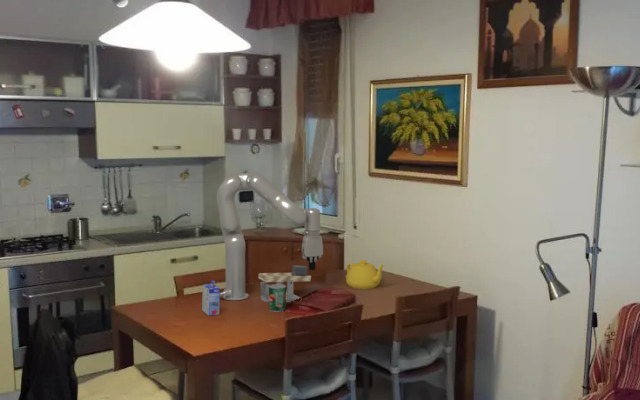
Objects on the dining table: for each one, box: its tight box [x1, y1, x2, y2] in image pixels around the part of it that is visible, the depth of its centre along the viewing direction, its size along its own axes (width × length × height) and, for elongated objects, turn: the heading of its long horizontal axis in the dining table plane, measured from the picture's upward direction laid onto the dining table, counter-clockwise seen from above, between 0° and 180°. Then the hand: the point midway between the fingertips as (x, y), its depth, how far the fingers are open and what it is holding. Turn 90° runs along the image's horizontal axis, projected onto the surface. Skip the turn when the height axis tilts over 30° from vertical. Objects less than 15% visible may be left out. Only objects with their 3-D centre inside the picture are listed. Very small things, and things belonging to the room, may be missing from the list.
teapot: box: [345, 259, 385, 290], centre depth 344 cm, size 25×18×14 cm
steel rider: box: [291, 265, 309, 276], centre depth 322 cm, size 6×5×5 cm
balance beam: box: [258, 272, 312, 283], centre depth 318 cm, size 24×9×3 cm, turn 119°
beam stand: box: [260, 280, 301, 303], centre depth 317 cm, size 16×16×10 cm
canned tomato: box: [268, 283, 287, 313], centre depth 298 cm, size 8×8×11 cm
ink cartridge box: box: [201, 279, 221, 317], centre depth 292 cm, size 10×6×14 cm, turn 27°
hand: (311, 269), depth 325 cm, fingers closed
